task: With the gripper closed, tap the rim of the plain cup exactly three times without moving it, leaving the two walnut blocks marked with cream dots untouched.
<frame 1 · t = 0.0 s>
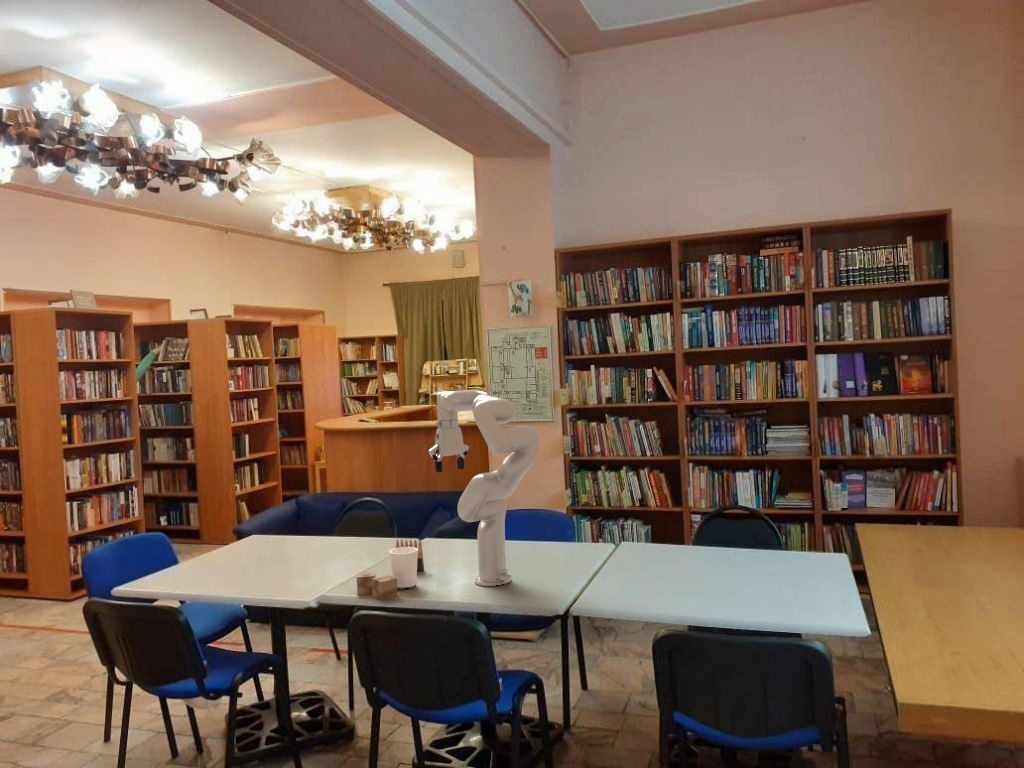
hand: (450, 470, 276), 37 cm above the table, tool pointing down, fingers open, 9 cm apart
walnut block one dot: (366, 591, 252), on the table
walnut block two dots: (385, 596, 246), on the table
cup: (405, 587, 255), on the table
ammunition clip: (409, 571, 276), on the table
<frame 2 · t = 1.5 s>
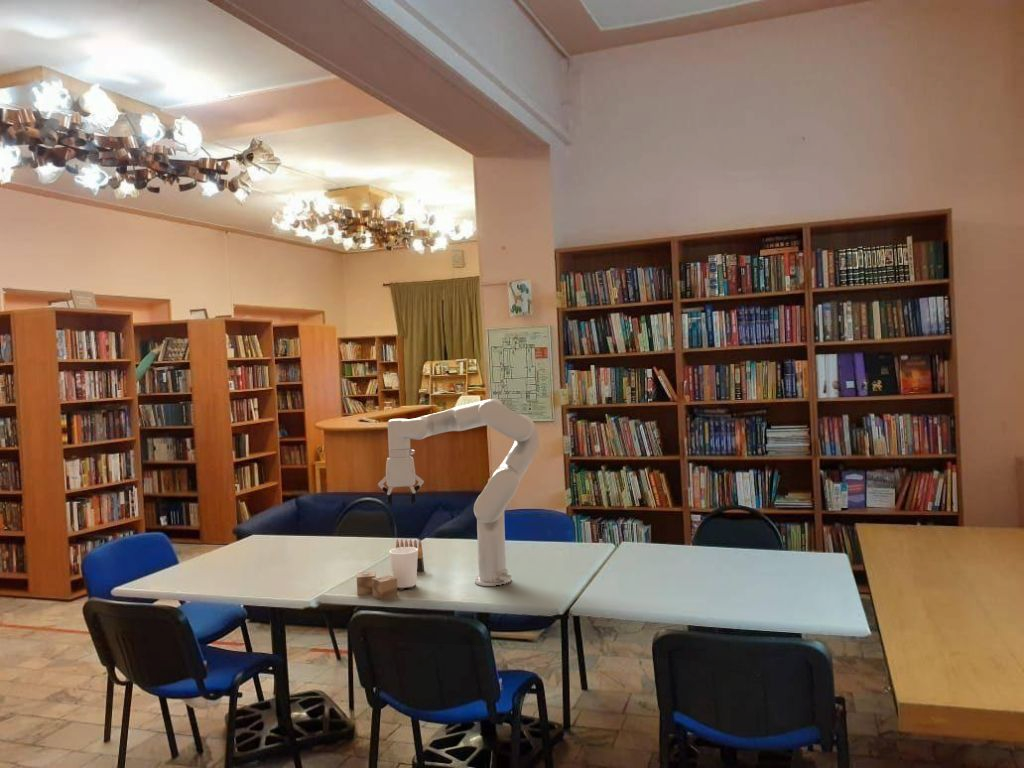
hand: (401, 504, 259), 28 cm above the table, tool pointing down, fingers open, 6 cm apart
nothing on the table moved.
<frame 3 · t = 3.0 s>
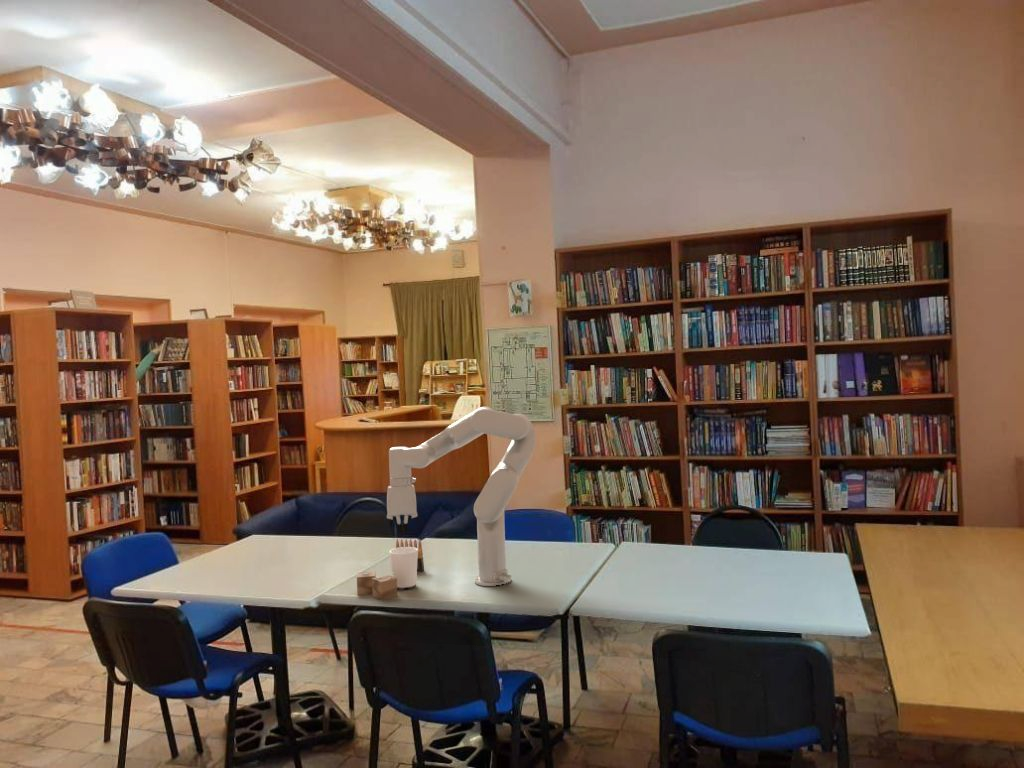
hand: (402, 534, 259), 17 cm above the table, tool pointing down, fingers closed
nothing on the table moved.
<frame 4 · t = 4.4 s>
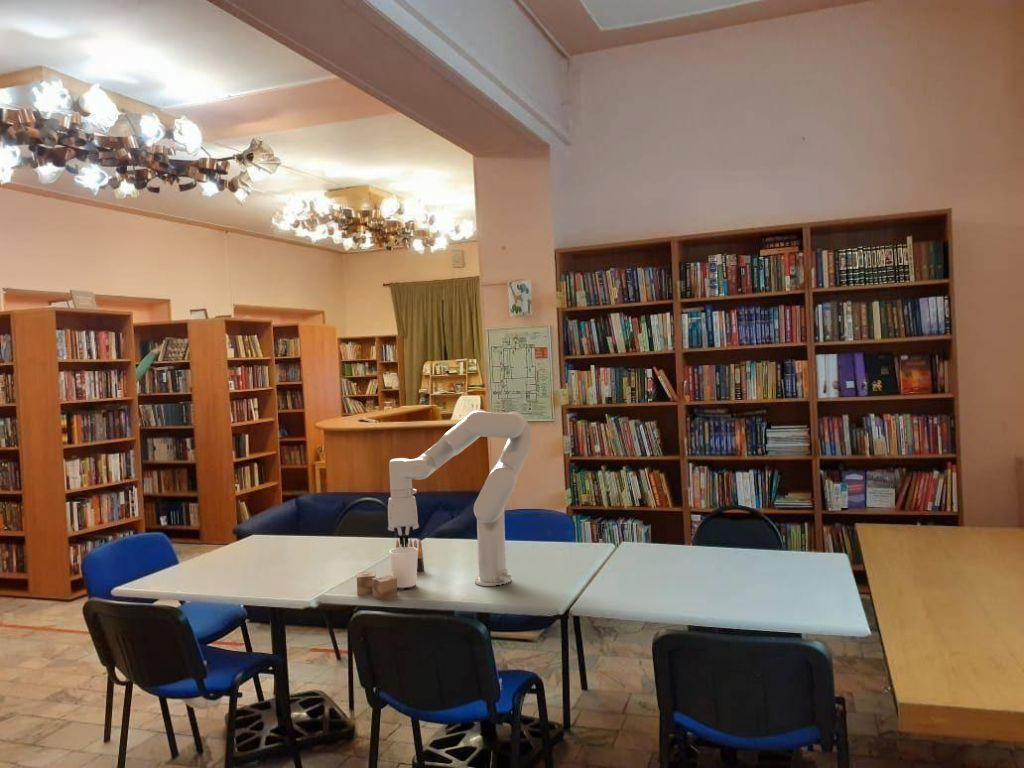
hand: (404, 545, 259), 13 cm above the table, tool pointing down, fingers closed
nothing on the table moved.
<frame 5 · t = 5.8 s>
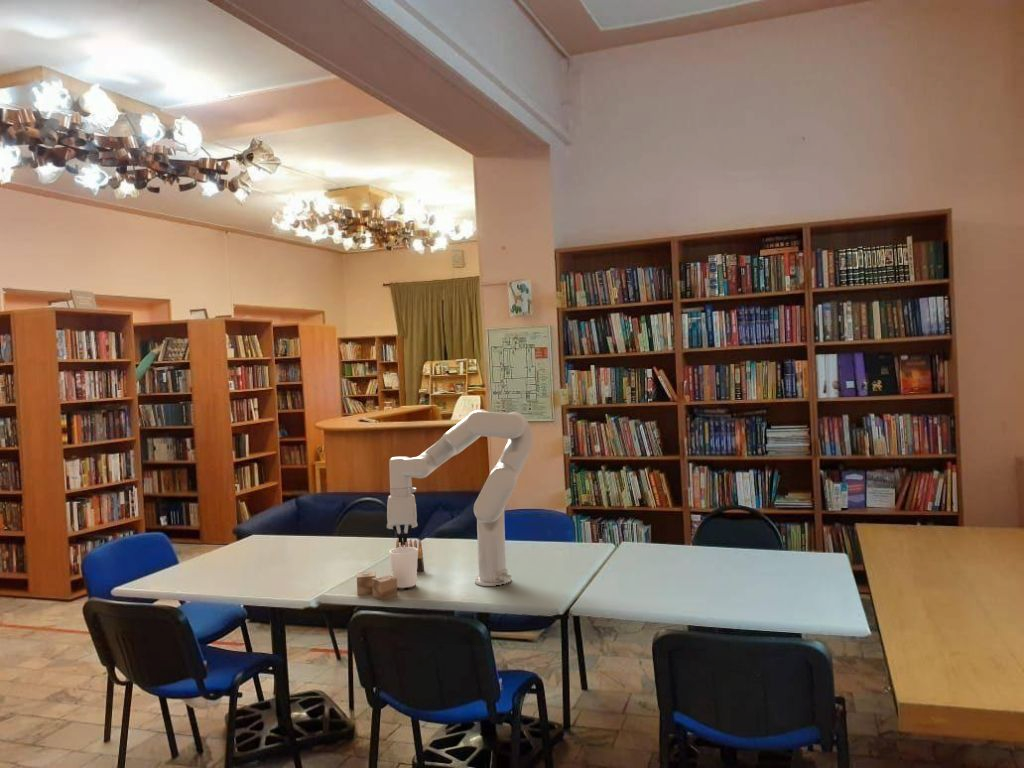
hand: (402, 544, 259), 14 cm above the table, tool pointing down, fingers closed
nothing on the table moved.
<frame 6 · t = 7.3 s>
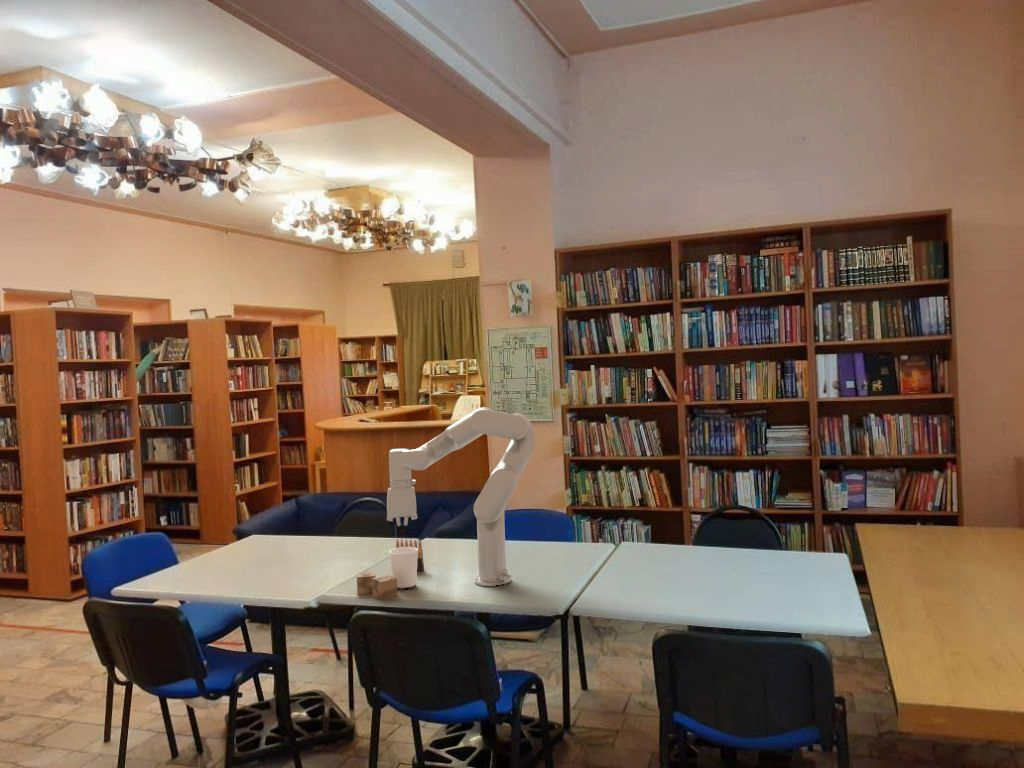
hand: (402, 536, 259), 17 cm above the table, tool pointing down, fingers closed
nothing on the table moved.
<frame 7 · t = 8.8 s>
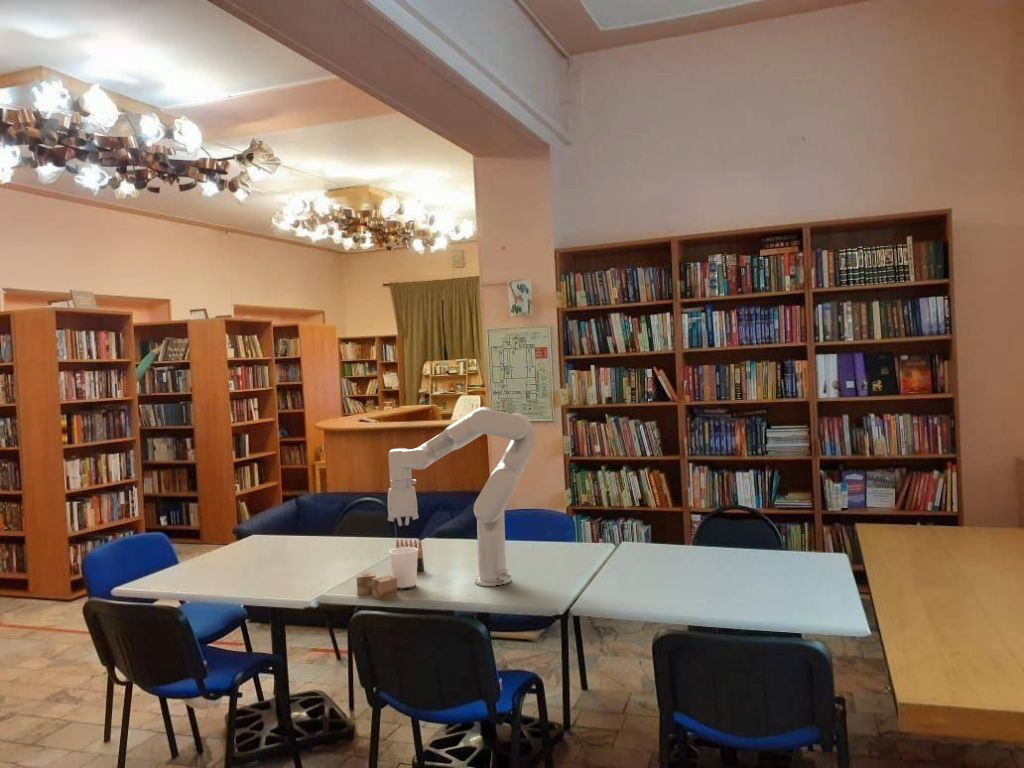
hand: (404, 536, 259), 17 cm above the table, tool pointing down, fingers closed
nothing on the table moved.
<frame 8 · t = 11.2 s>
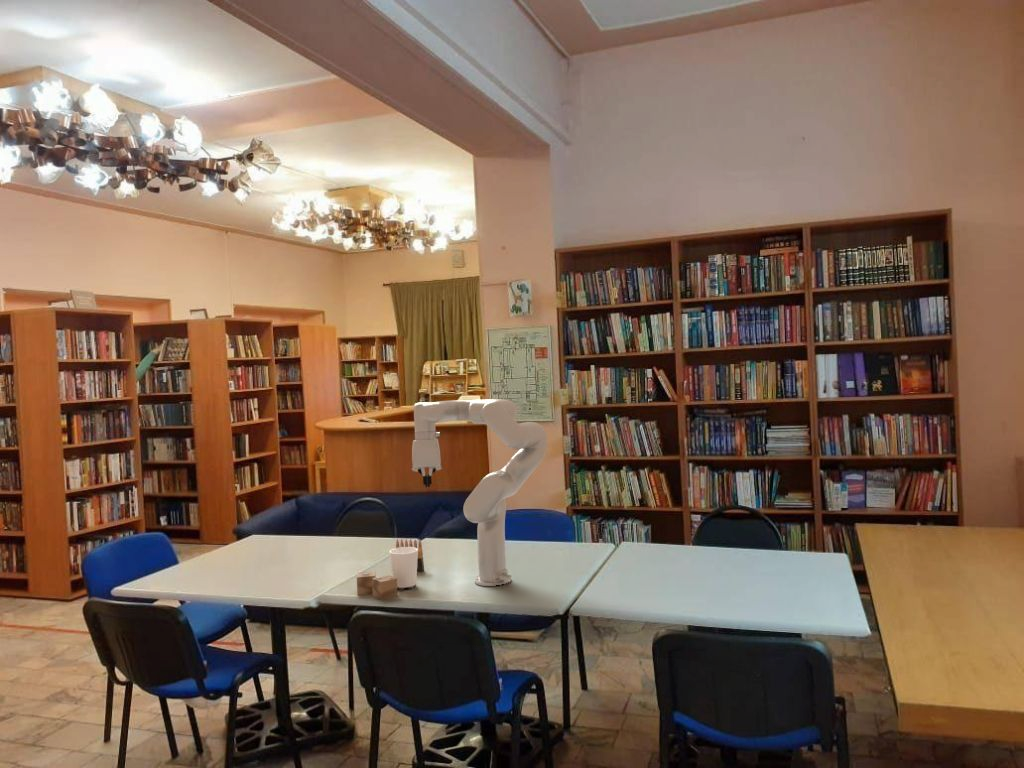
hand: (427, 486, 270), 32 cm above the table, tool pointing down, fingers closed
nothing on the table moved.
at the end: cup moved 0.2 cm from its start; cup tilted 0°; walnut block one dot moved 0.1 cm from its start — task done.
